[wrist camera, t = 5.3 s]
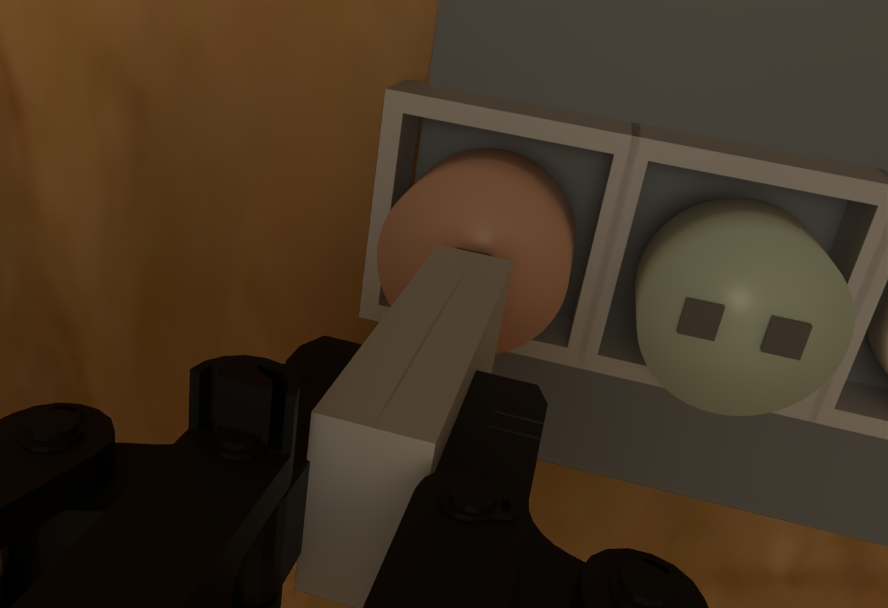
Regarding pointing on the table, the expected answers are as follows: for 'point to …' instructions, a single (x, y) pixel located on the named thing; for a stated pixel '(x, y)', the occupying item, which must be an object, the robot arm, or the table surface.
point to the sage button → (740, 308)
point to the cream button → (880, 330)
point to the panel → (664, 196)
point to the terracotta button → (487, 232)
